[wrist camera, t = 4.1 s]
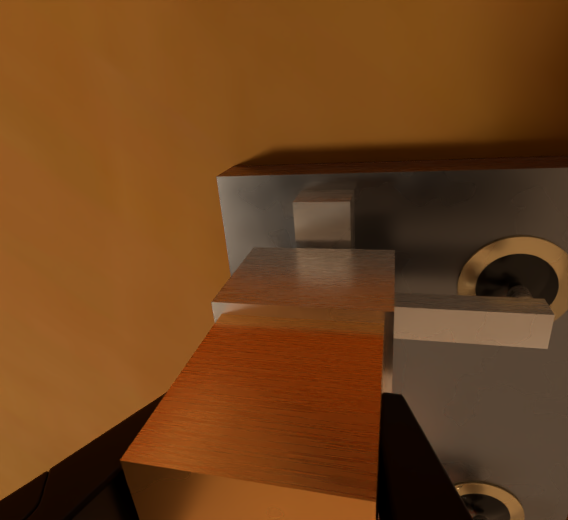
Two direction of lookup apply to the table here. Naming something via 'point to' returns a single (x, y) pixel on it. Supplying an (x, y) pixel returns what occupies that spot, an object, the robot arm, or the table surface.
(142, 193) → the table surface
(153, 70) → the table surface
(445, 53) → the table surface
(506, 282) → the bolt plate
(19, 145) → the table surface
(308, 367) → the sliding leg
